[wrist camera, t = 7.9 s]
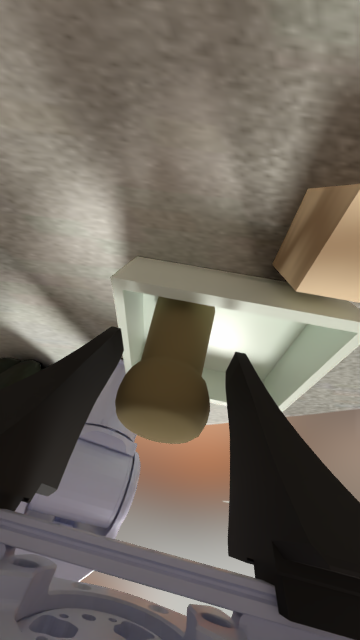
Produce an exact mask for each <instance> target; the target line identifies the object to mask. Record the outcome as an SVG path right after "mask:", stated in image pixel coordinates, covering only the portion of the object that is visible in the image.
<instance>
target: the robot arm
mask: <svg viewBox="0 0 360 640" xmlns="http://www.w3.org/2000/svg"><path fill="white" fill-rule="evenodd" d="M123 352H124V346H123V339H122V332H121V328H116V327H110V328H109V329H107V330H106V331H104V332H103V333H101V334H100V335H98V336H97V337H96V338H94V339H93V340H91V341H90V342H88V343H87V344H85V345H84V346H82V347H81V348H79V349H77V350H76V351H74V352H73V353H71V354H69V355H68V356H66V357H64V358H63V359H61V360H59V361H58V362H56V363H54V364H52V365H50V366H48V367H47V368H45V369H43V370H41V371H39V372H37V373H35V374H33V375H31V376H29V377H26V378H24V379H22V380H20V381H18V382H16V383H14V384H11V385H9V386H7V387H5V388H2V389H0V640H360V502H359V501H357V499H356V498H354V496H353V495H352V494H351V493H350V492H349V491H348V490H347V489H346V488H345V487H344V486H343V485H342V484H341V482H340V481H339V480H338V479H337V478H336V477H335V476H334V475H333V474H332V473H331V472H330V470H329V469H328V468H327V467H326V466H325V465H324V464H323V463H322V461H321V460H320V459H319V458H318V457H317V455H316V454H315V453H314V452H313V451H312V450H311V448H310V447H309V446H308V445H307V444H306V443H305V441H304V440H303V439H302V438H301V437H300V435H299V434H298V433H297V431H296V430H295V429H294V428H293V426H292V425H291V424H290V423H289V421H288V420H287V418H286V417H285V416H284V414H283V413H282V411H281V410H280V409H279V407H278V406H277V404H276V403H275V401H274V400H273V398H272V397H271V395H270V394H269V392H268V391H267V389H266V387H265V386H264V384H263V383H262V381H261V379H260V378H259V376H258V374H257V372H256V371H255V369H254V367H253V365H252V364H251V362H250V360H249V358H248V357H247V355H246V354H245V353H240V352H235V354H234V356H233V358H232V360H231V362H230V364H229V366H228V368H227V370H226V376H225V389H226V400H227V409H228V419H229V429H230V502H229V527H228V554H229V556H230V557H233V558H236V559H238V560H241V561H243V562H246V563H250V564H253V565H254V570H255V578H253V577H249V576H245V575H242V574H238V573H235V572H231V571H228V570H224V569H220V568H216V567H213V566H210V565H206V564H202V563H199V562H195V561H192V560H188V559H184V558H180V557H177V556H173V555H170V554H166V553H163V552H159V551H155V550H152V549H148V548H145V547H141V546H137V545H134V544H130V543H127V542H123V541H119V540H116V539H115V538H116V535H117V533H118V530H119V528H120V526H121V524H122V522H123V521H124V519H125V518H126V516H127V513H128V511H129V509H130V507H131V504H132V501H133V498H134V495H135V491H136V488H137V484H138V480H139V474H140V460H139V455H138V453H137V452H135V449H136V447H137V444H136V443H134V440H135V437H136V435H137V434H134V433H132V432H131V431H129V430H128V429H127V428H125V427H124V425H123V424H122V423H121V422H120V420H119V419H118V417H117V414H116V407H115V399H116V395H117V391H118V388H119V386H120V384H121V382H122V380H123V378H124V376H125V374H126V373H125V367H124V361H123V360H122V359H121V356H122V354H123ZM93 571H98V572H101V573H104V574H108V575H112V576H115V577H118V578H122V579H125V580H129V581H132V582H136V583H139V584H142V585H146V586H149V587H153V588H156V589H160V590H163V591H167V592H170V593H173V594H177V595H180V596H184V597H187V598H191V599H194V600H197V601H201V602H205V603H208V604H211V605H215V606H218V607H222V608H225V609H228V610H232V611H233V615H232V617H231V618H230V617H229V616H228V615H226V614H225V613H224V612H222V611H221V610H219V609H217V608H214V607H211V606H205V605H194V604H189V606H188V607H187V616H185V615H182V614H180V613H177V612H175V611H173V610H170V609H168V608H165V607H162V606H160V605H157V604H155V603H153V602H150V601H148V600H145V599H142V598H140V597H137V596H134V595H131V594H128V593H124V592H121V591H118V590H114V589H110V588H106V587H102V586H97V585H93V584H87V583H82V582H80V581H81V580H82V579H84V578H85V577H86V576H88V575H89V574H90V573H91V572H93Z"/></svg>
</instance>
